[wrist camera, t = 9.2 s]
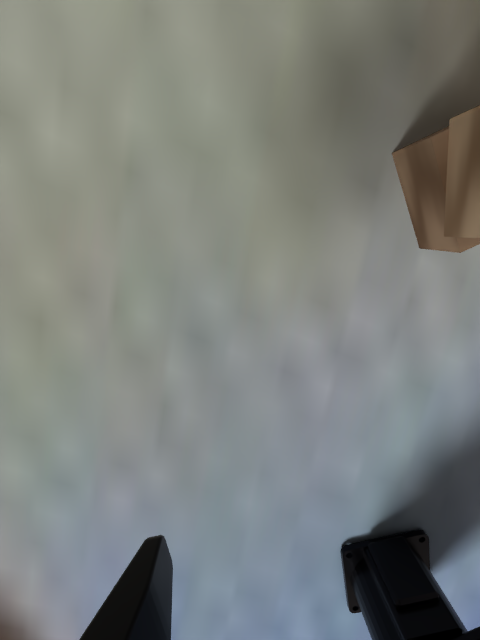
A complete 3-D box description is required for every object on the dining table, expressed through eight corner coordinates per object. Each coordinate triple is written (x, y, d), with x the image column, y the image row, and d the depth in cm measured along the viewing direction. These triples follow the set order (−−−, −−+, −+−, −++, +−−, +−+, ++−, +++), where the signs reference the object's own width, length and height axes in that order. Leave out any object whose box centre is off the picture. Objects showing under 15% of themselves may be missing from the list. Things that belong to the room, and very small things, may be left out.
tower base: (507, 207, 19) (568, 203, 16) (418, 248, 20) (460, 252, 16) (486, 108, 18) (549, 80, 15) (390, 153, 18) (430, 137, 15)
